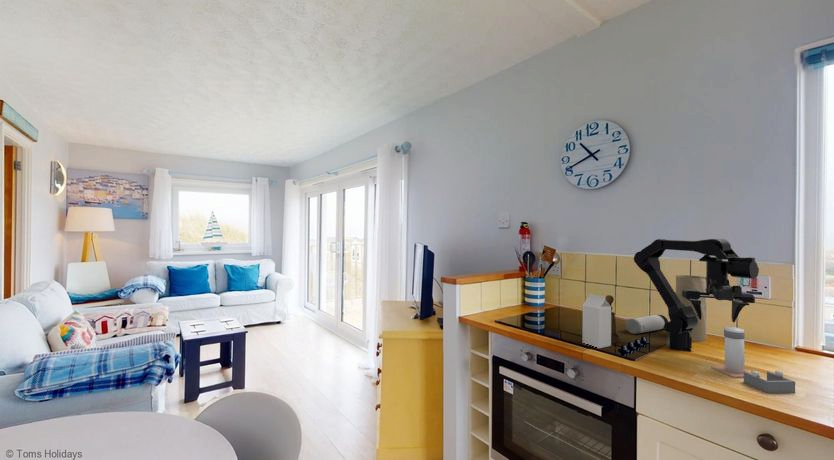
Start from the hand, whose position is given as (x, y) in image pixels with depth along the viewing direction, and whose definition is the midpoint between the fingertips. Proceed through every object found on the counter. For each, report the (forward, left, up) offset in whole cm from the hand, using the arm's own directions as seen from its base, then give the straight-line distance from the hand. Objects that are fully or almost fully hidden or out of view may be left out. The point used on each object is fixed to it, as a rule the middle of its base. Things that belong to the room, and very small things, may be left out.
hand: (716, 320), depth 125 cm
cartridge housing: (+5, -22, -13) cm, 26 cm away
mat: (+1, -13, -13) cm, 18 cm away
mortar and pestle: (-32, +8, -13) cm, 36 cm away
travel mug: (-22, +22, -10) cm, 33 cm away
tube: (-1, +25, -13) cm, 28 cm away
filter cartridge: (+1, -13, -12) cm, 18 cm away
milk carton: (-37, 0, -13) cm, 39 cm away
